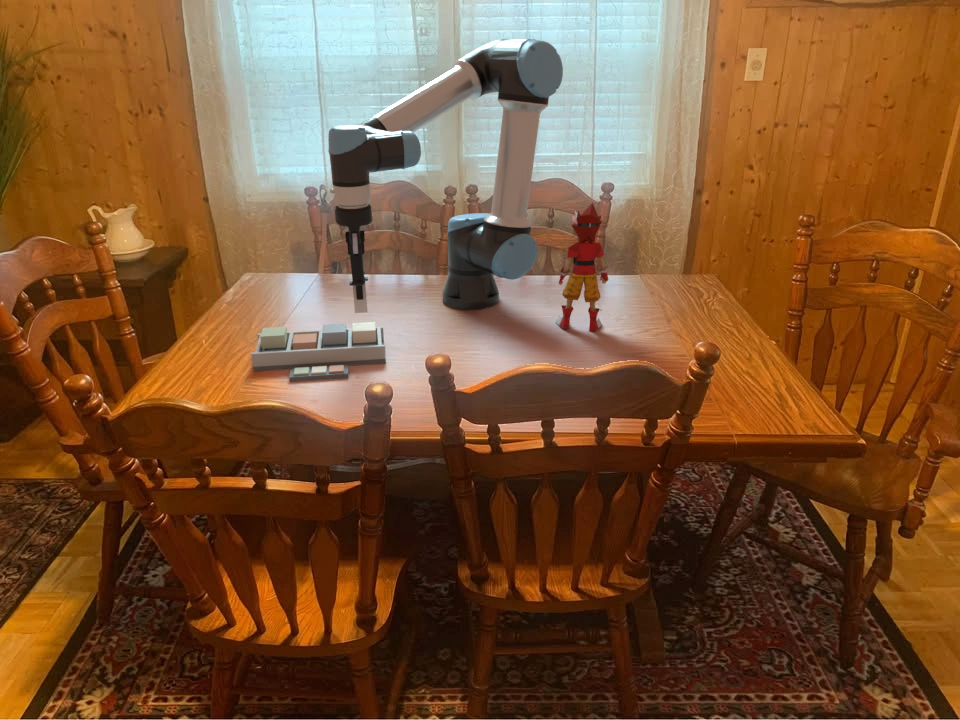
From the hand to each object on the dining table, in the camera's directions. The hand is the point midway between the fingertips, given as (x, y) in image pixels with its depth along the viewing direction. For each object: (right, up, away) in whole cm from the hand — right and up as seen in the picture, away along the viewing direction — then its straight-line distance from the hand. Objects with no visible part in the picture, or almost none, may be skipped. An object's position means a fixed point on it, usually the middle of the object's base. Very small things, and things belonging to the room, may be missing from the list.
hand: (361, 311), depth 161 cm
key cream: (0, -6, +3) cm, 6 cm away
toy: (+51, -2, +19) cm, 54 cm away
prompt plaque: (-8, -14, -6) cm, 17 cm away
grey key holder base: (-9, -10, +3) cm, 14 cm away
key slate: (-6, -6, +2) cm, 9 cm away
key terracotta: (-12, -8, +2) cm, 15 cm away
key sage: (-19, -7, 0) cm, 20 cm away
